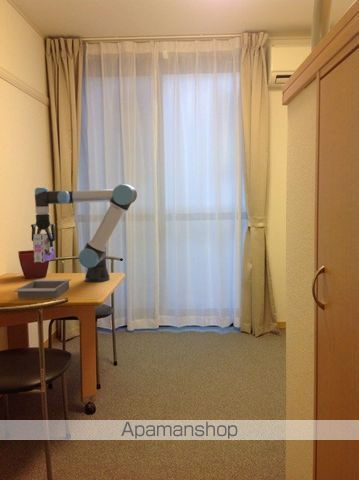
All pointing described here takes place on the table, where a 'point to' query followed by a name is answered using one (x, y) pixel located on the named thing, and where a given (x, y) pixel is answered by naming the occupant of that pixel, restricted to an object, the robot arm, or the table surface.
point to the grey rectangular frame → (44, 288)
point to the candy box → (42, 248)
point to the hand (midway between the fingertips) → (44, 252)
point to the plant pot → (32, 265)
